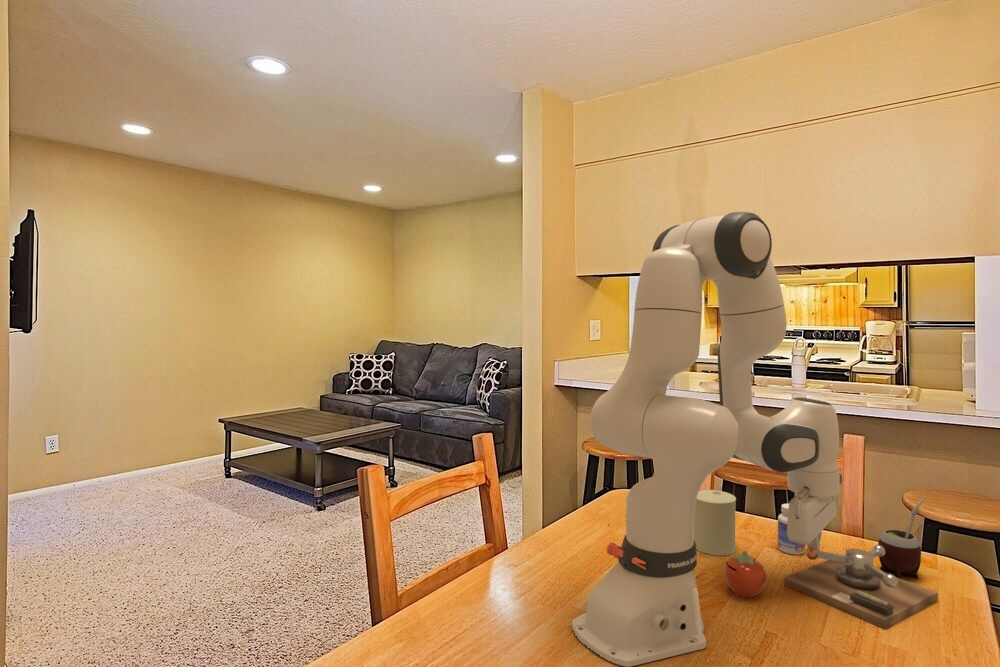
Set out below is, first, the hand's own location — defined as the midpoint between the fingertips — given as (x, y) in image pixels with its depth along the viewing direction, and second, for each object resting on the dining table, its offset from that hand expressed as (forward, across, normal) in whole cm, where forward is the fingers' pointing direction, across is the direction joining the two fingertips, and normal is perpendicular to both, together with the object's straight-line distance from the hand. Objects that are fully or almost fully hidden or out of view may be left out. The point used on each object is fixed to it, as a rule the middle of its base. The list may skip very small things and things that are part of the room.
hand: (813, 551), depth 113 cm
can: (+6, +3, +21) cm, 22 cm away
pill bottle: (+6, +12, +8) cm, 16 cm away
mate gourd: (+7, +15, -12) cm, 20 cm away
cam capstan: (+4, 0, -6) cm, 7 cm away
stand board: (+6, +1, -8) cm, 10 cm away
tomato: (+6, -14, +8) cm, 17 cm away
